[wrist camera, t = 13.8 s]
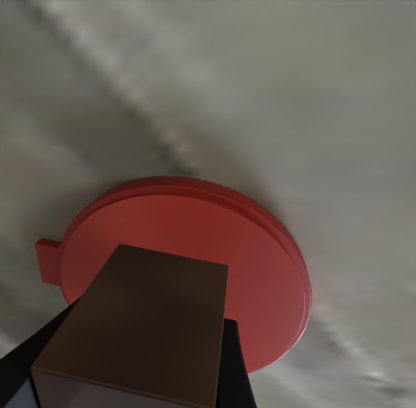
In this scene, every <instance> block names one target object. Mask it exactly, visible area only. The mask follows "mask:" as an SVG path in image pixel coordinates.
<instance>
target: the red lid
mask: <svg viewBox="0 0 416 408" xmlns="http://www.w3.org/2000/svg"><path fill="white" fill-rule="evenodd" d="M119 244H126V245H131V246H136V247H141V248H146V249H151V250H156V251H160V252H165V253H170V254H175V255H180V256H185V257H190V258H195V259H200V260H205V261H210V262H215V263H220V264H225V265H228V266H229V273H228V284H227V294H226V304H225V314H224V318H228V319H233V320H236V321H237V322H238V330H239V337H240V343H241V348H242V353H243V358H244V362H245V366H246V370H247V374H248V373H251V372H254V371H257V370H259V369H262V368H264V367H266V366H268V365H270V364H272V363H273V362H275V361H276V360H278V359H279V358H281V357H282V356H284V355H285V354H286V353H287V352H288V351H289V350H290V349H291V348H292V347H293V346H294V345H295V344H296V342H297V341H298V340H299V339H300V337H301V335H302V334H303V332H304V330H305V328H306V325H307V323H308V320H309V317H310V312H311V306H312V290H311V285H310V281H309V276H308V272H307V269H306V265H305V262H304V260H303V257H302V255H301V252H300V250H299V248H298V246H297V244H296V243H295V241H294V239H293V238H292V236H291V235H290V234H289V232H288V231H287V230H286V229H285V228H284V226H283V225H282V224H281V223H280V222H279V221H278V220H277V219H276V218H275V217H274V216H273V215H272V214H270V213H269V212H268V211H267V210H266V209H264V208H263V207H261V206H260V205H259V204H257V203H256V202H254V201H253V200H251V199H249V198H247V197H246V196H244V195H242V194H240V193H238V192H236V191H234V190H231V189H229V188H226V187H224V186H221V185H218V184H215V183H211V182H207V181H203V180H199V179H193V178H185V177H152V178H145V179H139V180H135V181H132V182H128V183H125V184H122V185H120V186H118V187H115V188H113V189H111V190H109V191H107V192H106V193H104V194H103V195H101V196H99V197H98V198H96V199H95V200H94V201H93V202H92V203H91V204H90V205H89V206H87V207H86V208H85V209H84V210H83V211H82V212H81V213H80V214H79V215H77V216H76V217H75V219H74V220H73V221H72V223H71V224H70V225H69V227H68V228H67V230H66V232H65V234H64V236H63V238H62V240H61V243H57V242H52V241H47V240H42V239H40V240H39V241H37V242H36V243H35V246H36V252H37V257H38V262H39V267H40V272H41V277H42V282H44V283H49V284H54V285H58V286H60V288H61V291H62V293H63V296H64V298H65V300H66V302H67V304H68V306H69V305H71V304H72V303H73V302H74V301H75V300H76V299H78V298H79V297H80V296H81V295H82V294H83V293H84V292H85V290H86V289H87V288H88V286H89V285H90V283H91V282H92V281H93V279H94V278H95V277H96V275H97V274H98V272H99V271H100V270H101V268H102V267H103V265H104V264H105V263H106V261H107V260H108V258H109V257H110V256H111V254H112V253H113V252H114V250H115V249H116V247H117V246H118V245H119Z"/></svg>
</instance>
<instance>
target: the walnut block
mask: <svg viewBox="0 0 416 408" xmlns="http://www.w3.org/2000/svg"><path fill="white" fill-rule="evenodd" d="M228 273H229V266H228V265H225V264H220V263H215V262H210V261H205V260H200V259H195V258H190V257H185V256H180V255H175V254H170V253H165V252H160V251H156V250H151V249H146V248H141V247H136V246H131V245H126V244H119V245H118V246H117V247H116V249H115V250H114V252H113V253H112V254H111V256H110V257H109V258H108V260H107V261H106V263H105V264H104V265H103V267H102V268H101V270H100V271H99V272H98V274H97V275H96V277H95V278H94V279H93V281H92V282H91V283H90V285H89V286H88V288H87V289H86V290H85V292H84V293H83V295H82V296H81V297H80V299H79V300H78V302H77V303H76V304H75V306H74V307H73V309H72V310H71V311H70V313H69V314H68V315H67V317H66V318H65V320H64V321H63V322H62V324H61V325H60V327H59V328H58V329H57V331H56V332H55V334H54V335H53V336H52V338H51V339H50V340H49V342H48V343H47V345H46V346H45V347H44V349H43V350H42V352H41V353H40V354H39V356H38V357H37V359H36V360H35V361H34V363H33V364H32V365H31V368H30V371H31V374H32V378H33V381H34V384H35V388H36V391H37V395H38V398H39V402H40V405H41V408H215V406H216V396H217V386H218V375H219V365H220V355H221V345H222V335H223V324H224V314H225V304H226V294H227V284H228Z"/></svg>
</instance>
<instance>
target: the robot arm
mask: <svg viewBox="0 0 416 408" xmlns="http://www.w3.org/2000/svg"><path fill="white" fill-rule="evenodd" d="M82 295H83V294H82ZM82 295H81V296H82ZM81 296H80V297H81ZM80 297H79V298H78V299H76V300H75V301H74V302H73V303H72V304H71V305H69V306H68V307H67V308H66V309H65V310H63V311H62V312H61V313H60V314H59V315H57V316H56V317H55V318H54V319H52V320H51V321H50V322H49V323H47V324H46V325H45V326H44V327H42V328H41V329H40V330H39V331H37V332H36V333H35V334H34V335H32V336H31V337H30V338H28V339H27V340H26V341H24V342H23V343H22V344H20V345H19V346H18V347H16V348H15V349H13V350H12V351H11V352H9V353H8V354H7V355H5V356H4V357H3V358H1V359H0V408H41V405H40V402H39V398H38V395H37V391H36V388H35V384H34V381H33V378H32V374H31V371H30V368H31V365H32V364H33V363H34V361H35V360H36V359H37V357H38V356H39V354H40V353H41V352H42V350H43V349H44V347H45V346H46V345H47V343H48V342H49V340H50V339H51V338H52V336H53V335H54V334H55V332H56V331H57V329H58V328H59V327H60V325H61V324H62V322H63V321H64V320H65V318H66V317H67V315H68V314H69V313H70V311H71V310H72V309H73V307H74V306H75V304H76V303H77V302H78V300H79V299H80ZM215 408H257V406H256V403H255V400H254V396H253V393H252V389H251V385H250V382H249V378H248V374H247V370H246V366H245V362H244V358H243V353H242V348H241V343H240V337H239V330H238V322H237V321H236V320H233V319H228V318H224V324H223V335H222V345H221V355H220V365H219V375H218V386H217V396H216V406H215Z"/></svg>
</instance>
